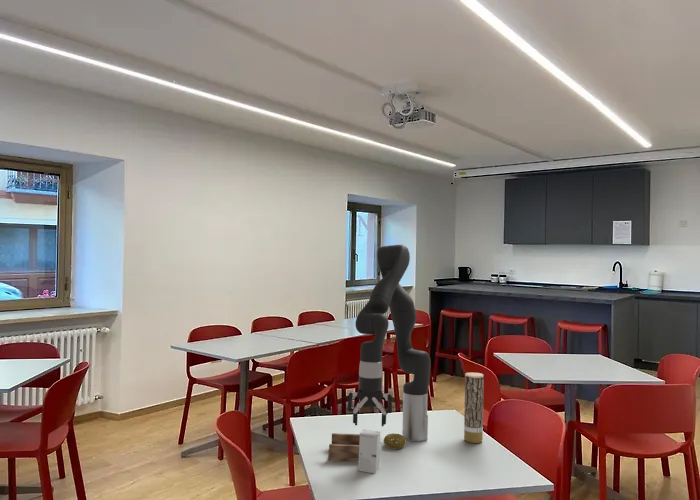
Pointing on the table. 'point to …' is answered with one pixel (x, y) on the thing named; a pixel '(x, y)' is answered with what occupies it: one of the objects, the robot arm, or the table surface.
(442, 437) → the table surface
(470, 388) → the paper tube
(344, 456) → the u rest
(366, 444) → the skincare box
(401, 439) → the sculpture
